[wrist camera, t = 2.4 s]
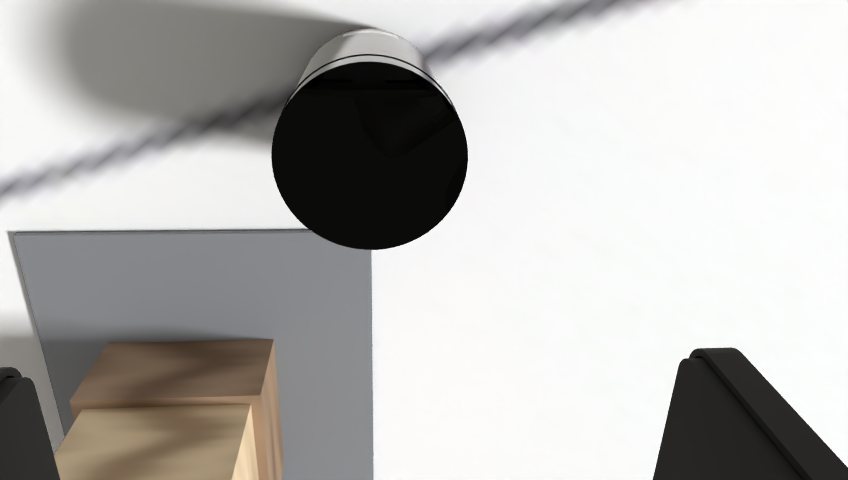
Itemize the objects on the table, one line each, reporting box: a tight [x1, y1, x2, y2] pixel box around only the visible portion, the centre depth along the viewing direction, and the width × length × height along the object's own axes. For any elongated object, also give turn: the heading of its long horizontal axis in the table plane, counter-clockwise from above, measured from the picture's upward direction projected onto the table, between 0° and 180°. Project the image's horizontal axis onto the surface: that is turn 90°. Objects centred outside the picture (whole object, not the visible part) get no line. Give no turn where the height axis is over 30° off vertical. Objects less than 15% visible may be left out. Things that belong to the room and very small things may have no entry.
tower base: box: [70, 339, 284, 480], centre depth 35 cm, size 9×9×5 cm
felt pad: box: [13, 230, 373, 480], centre depth 37 cm, size 18×18×1 cm
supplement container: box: [272, 29, 468, 250], centre depth 27 cm, size 7×7×10 cm
